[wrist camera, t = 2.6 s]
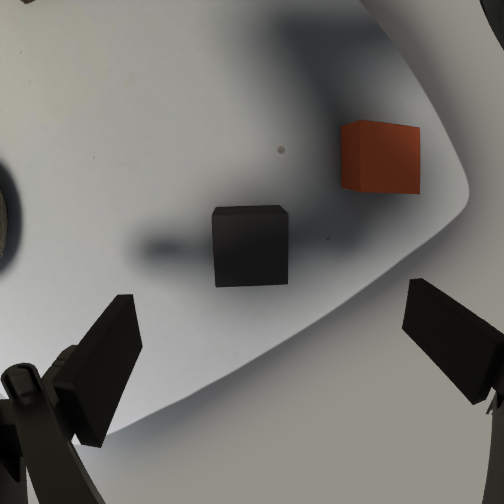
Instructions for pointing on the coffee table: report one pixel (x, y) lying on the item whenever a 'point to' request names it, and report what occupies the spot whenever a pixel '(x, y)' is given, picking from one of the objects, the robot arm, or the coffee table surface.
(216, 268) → the black cube
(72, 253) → the coffee table surface
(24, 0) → the frame
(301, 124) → the coffee table surface
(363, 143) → the orange block
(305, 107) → the coffee table surface
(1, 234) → the planter
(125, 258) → the coffee table surface
